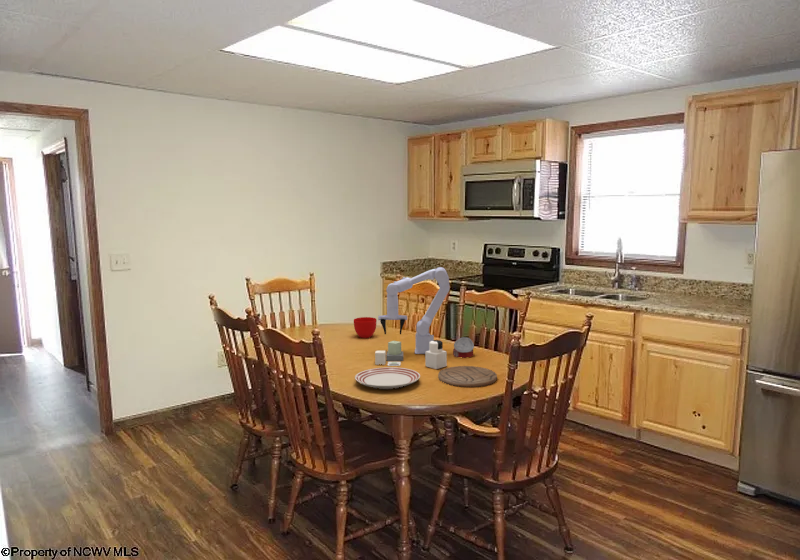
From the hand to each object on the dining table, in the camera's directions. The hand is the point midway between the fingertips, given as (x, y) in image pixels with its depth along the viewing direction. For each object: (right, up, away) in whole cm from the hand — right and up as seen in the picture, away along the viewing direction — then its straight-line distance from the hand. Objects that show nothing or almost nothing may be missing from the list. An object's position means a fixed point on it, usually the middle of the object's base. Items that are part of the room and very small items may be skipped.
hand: (392, 333), depth 279 cm
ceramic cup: (-16, -5, +37) cm, 40 cm away
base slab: (+1, -11, -11) cm, 16 cm away
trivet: (+32, -15, -42) cm, 55 cm away
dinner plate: (-2, -16, -46) cm, 49 cm away
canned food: (+35, -10, -6) cm, 37 cm away
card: (+1, -12, -20) cm, 24 cm away
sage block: (+1, -8, -11) cm, 14 cm away
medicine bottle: (+20, -13, -24) cm, 34 cm away
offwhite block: (-6, -12, -18) cm, 23 cm away
